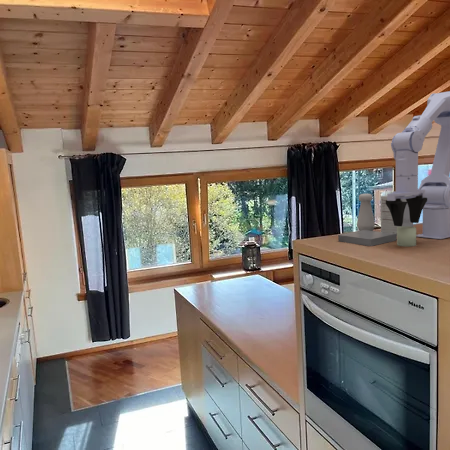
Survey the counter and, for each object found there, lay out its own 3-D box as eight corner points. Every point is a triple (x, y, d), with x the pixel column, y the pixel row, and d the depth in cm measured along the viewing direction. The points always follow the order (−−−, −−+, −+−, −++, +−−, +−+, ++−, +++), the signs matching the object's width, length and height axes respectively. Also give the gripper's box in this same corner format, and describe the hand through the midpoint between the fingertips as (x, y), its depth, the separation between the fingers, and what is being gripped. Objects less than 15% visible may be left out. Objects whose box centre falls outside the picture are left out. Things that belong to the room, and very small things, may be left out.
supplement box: (393, 231, 146) (393, 193, 144) (414, 233, 140) (414, 194, 138) (380, 234, 142) (379, 195, 140) (400, 236, 136) (400, 196, 134)
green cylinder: (404, 242, 126) (404, 225, 125) (419, 244, 122) (420, 227, 121) (393, 245, 123) (393, 227, 122) (409, 247, 119) (409, 229, 118)
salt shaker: (353, 231, 149) (352, 194, 147) (366, 229, 151) (365, 192, 149) (365, 233, 144) (365, 194, 142) (378, 231, 146) (378, 193, 144)
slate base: (364, 236, 140) (364, 229, 139) (396, 240, 130) (396, 233, 129) (338, 241, 133) (338, 234, 133) (370, 246, 123) (370, 239, 123)
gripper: (409, 174, 127) (409, 220, 129) (377, 177, 119) (377, 226, 121) (432, 174, 121) (431, 222, 123) (400, 177, 113) (400, 228, 115)
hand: (406, 224), depth 122 cm, fingers open, 7 cm apart
